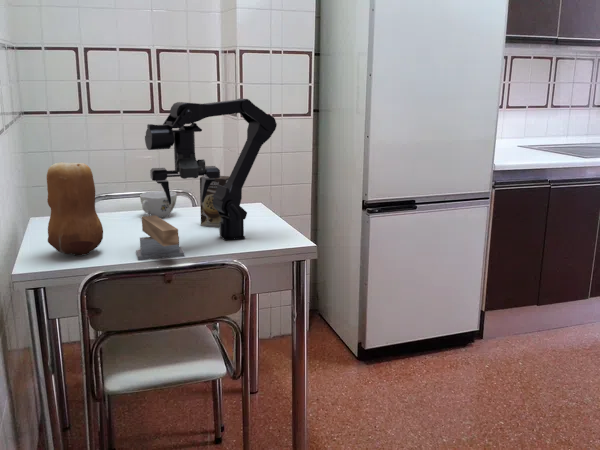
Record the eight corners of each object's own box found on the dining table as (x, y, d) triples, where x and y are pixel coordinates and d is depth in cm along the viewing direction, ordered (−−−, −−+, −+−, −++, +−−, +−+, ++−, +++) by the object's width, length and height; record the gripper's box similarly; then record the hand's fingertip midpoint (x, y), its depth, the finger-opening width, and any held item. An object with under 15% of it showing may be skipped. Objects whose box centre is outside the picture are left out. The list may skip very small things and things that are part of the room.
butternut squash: (89, 244, 164) (83, 157, 158) (113, 254, 155) (107, 162, 149) (40, 253, 154) (31, 161, 149) (63, 264, 145) (54, 167, 140)
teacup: (156, 210, 208) (155, 189, 206) (185, 214, 203) (184, 192, 201) (128, 219, 195) (127, 196, 193) (158, 223, 190) (156, 199, 188)
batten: (156, 229, 162) (155, 215, 161) (178, 244, 147) (178, 229, 146) (142, 230, 160) (141, 216, 159) (163, 246, 145) (162, 231, 144)
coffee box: (200, 226, 187) (198, 177, 183) (207, 221, 193) (206, 174, 189) (226, 228, 185) (225, 178, 181) (233, 223, 191) (232, 175, 187)
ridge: (180, 250, 160) (180, 232, 158) (184, 256, 154) (183, 238, 153) (136, 254, 155) (135, 236, 154) (138, 260, 150) (137, 241, 149)
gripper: (153, 152, 149) (156, 211, 153) (224, 150, 155) (225, 206, 159) (148, 147, 159) (151, 203, 163) (215, 146, 166) (216, 199, 169)
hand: (186, 203), depth 163 cm, fingers open, 9 cm apart
